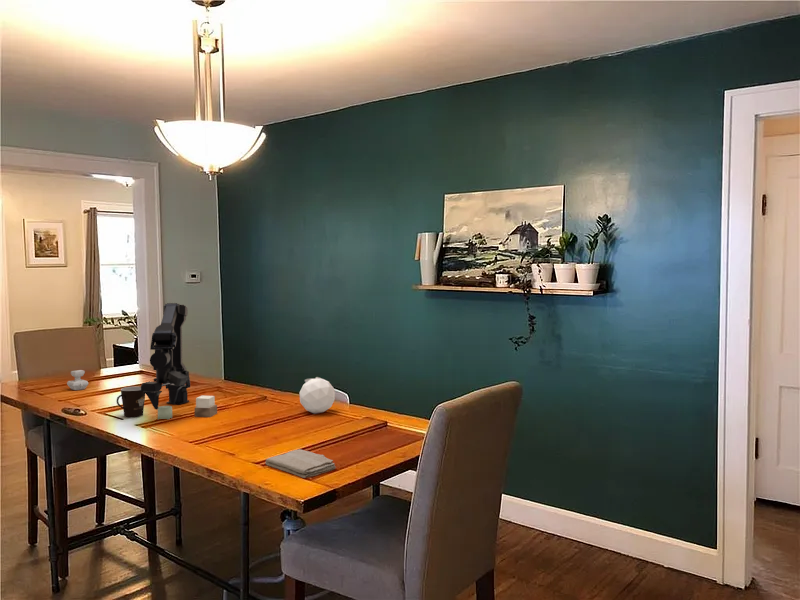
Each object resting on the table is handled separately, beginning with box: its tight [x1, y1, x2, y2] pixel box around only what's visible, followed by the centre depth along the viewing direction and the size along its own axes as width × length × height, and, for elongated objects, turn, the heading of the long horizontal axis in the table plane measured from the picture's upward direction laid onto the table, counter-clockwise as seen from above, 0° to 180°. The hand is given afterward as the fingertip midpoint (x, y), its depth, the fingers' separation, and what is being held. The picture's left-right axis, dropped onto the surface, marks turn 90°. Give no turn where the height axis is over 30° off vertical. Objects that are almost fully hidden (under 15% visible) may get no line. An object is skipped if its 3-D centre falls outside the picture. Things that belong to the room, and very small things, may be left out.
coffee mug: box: [116, 385, 146, 418], centre depth 233 cm, size 12×9×10 cm
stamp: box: [66, 369, 89, 391], centre depth 282 cm, size 9×7×8 cm
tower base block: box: [194, 404, 218, 418], centre depth 236 cm, size 6×6×4 cm
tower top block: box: [195, 395, 216, 408], centre depth 235 cm, size 5×5×4 cm
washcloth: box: [264, 448, 337, 479], centre depth 176 cm, size 12×18×3 cm, turn 50°
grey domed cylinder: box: [157, 405, 173, 420], centre depth 231 cm, size 5×5×4 cm
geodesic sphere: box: [299, 376, 336, 414], centre depth 241 cm, size 14×14×14 cm
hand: (164, 406), depth 231 cm, fingers open, 9 cm apart
